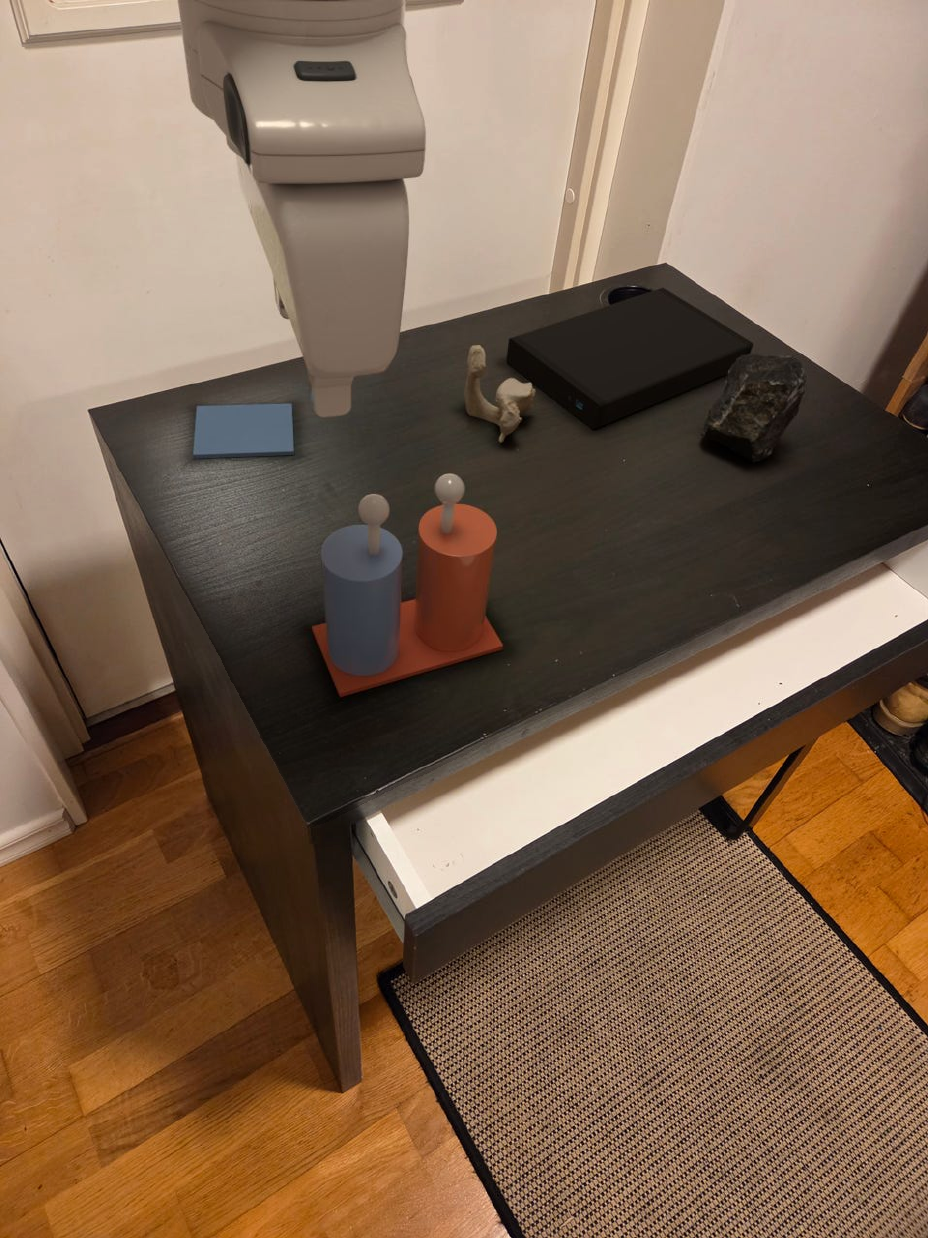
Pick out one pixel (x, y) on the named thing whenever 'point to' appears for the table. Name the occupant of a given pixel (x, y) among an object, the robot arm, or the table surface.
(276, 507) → the table surface
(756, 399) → the rock
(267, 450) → the blue mat
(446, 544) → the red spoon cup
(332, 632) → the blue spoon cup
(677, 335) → the external hard drive
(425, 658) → the red mat
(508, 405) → the bone
